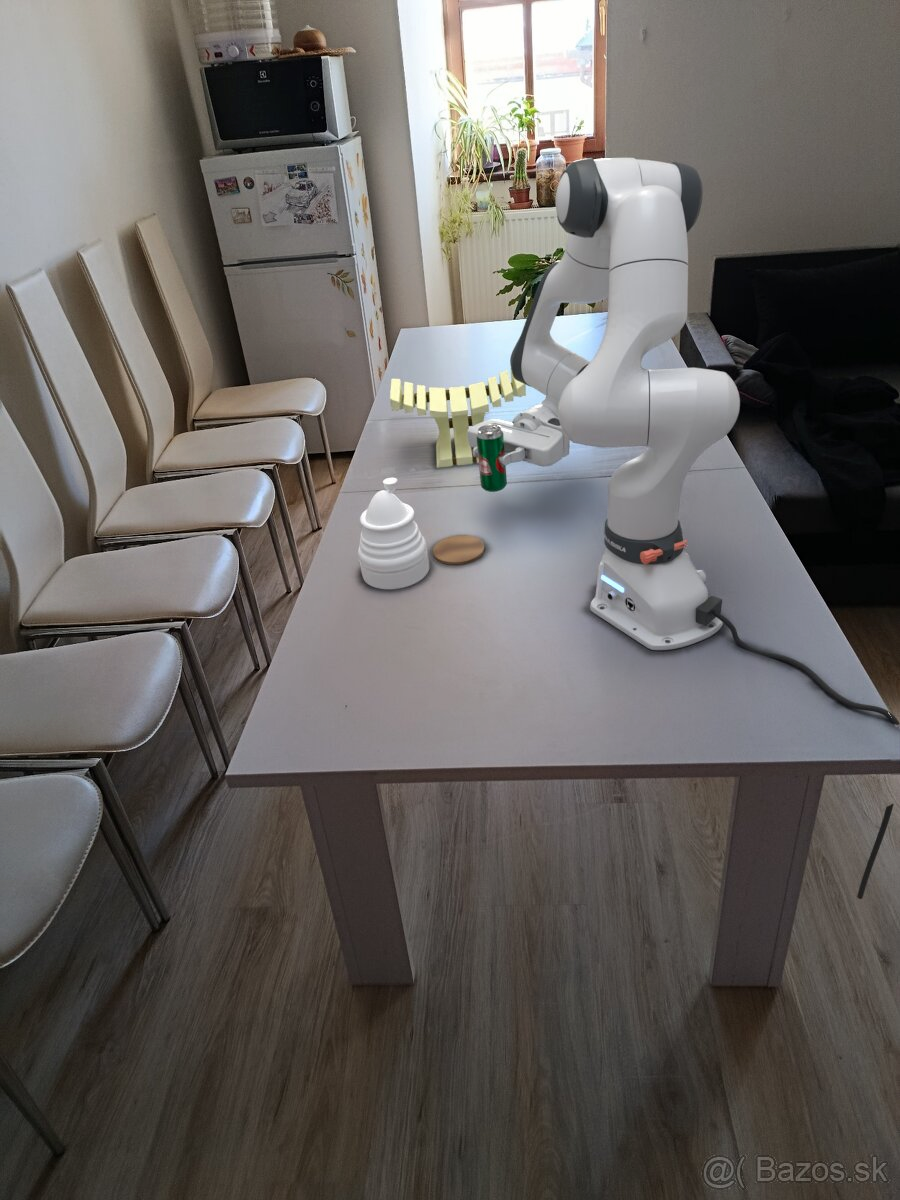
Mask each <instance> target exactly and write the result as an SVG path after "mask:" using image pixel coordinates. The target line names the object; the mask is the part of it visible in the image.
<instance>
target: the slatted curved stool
mask: <svg viewBox="0 0 900 1200" xmlns="http://www.w3.org/2000/svg"><path fill="white" fill-rule="evenodd" d="M498 377H499V379H498V380H499V383H498V380H497V376H496V375H494V376H491V377H488V378H487V384H485V381H480V382H475V383H472V384H471V383H470V384H468V386H467V387H466V386H465V385H461V386H451V387H448V389H446V387H433V386H432V387H429V389H428V391H427V389H426V385H421V384H416V392H415V388H414V382H410V381H403V383H404V384H403V386H402V381H401V378H391V381H390V393H389V394H390V395H389V402H390V408H391V412H392V411H395V412H397V411H400V410H403V411H404V414H411V413H414V408H416V411H417V417H420V416H426V415H427V411H428V404H429V415H430V419H434V420H435V422H436V425H437V428H438V437H437V440H436V443H435V454H436V456H435V457H436V468H437V469H439V468H448V467H453V466H454V465H456V466H458V467H459V466H467V465H473V464H474V463H476V464H479V460H478V458H477V457H474V456H473V450H472V447H471V446H469V443H468V434H467V433H468V429H469V428H470V427H472V426H474V425H476V424H479V423H481V422H484V421H485V420H484V419H485V417H486V416H485V415H486V413H490V407H489V406H490V405H489V404H491V405H492V408H500V407H502V399H504V402H505V403H509V402H510V403H511V402H514V397H518V398H522V397H527V388H526V387H527V385H526V384H524V383H521V382H519V381H517V380H516V379H515V378H514V376H513V374H512V370H511V369H510V375H509V372H508V369H506V370H504V371H501V372H499V373H498ZM488 398H489V399H488ZM467 399H469V406H470V415H469V407H468V401H467ZM448 401H449V403H450V414H451V417H449V410H448V409H449V408H448ZM451 429H453V440H454V448H455V449H454V450H455V455H453V450H452V437H451Z"/></svg>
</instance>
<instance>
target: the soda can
mask: <svg viewBox="0 0 900 1200" xmlns="http://www.w3.org/2000/svg"><path fill="white" fill-rule="evenodd" d="M476 438H477V449H478V460H479V463H478V467H479V468H478V471H479V480H480V481H479V482H480V487H481V488H482V490H484V491H485V492H489V493H495V492H500V491H503V490H504V489H505V488H506V486H507V485H508V481H507V480H508V479H507V478H508V477H507V465H506V466H505V465H502V464H499V459H498V457H499V455H501V454H503V453H505V449H504V435H503V432H502V430H501V427H500V426H498V425H484V426H482V427H480V428H479V429H478V433H477V435H476Z"/></svg>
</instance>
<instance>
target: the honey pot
mask: <svg viewBox="0 0 900 1200" xmlns="http://www.w3.org/2000/svg"><path fill="white" fill-rule="evenodd" d="M382 483H383V487H384V489H383V490H379V491H377V492H376V493H375V494H374V495H373V496H372V498H371V500H370V502H369V504H368V506H367V508H366V509H365V510H364V511H362V513H361V515H360V517H359V523H360V525H361V526H362V529H361V531H360V536H359V537H360V538H359V546H358V549H357V550H358V551H357V556H358V560H359V567H360V572H361V575H362V579H363V581H364V582H365V583H366V584H367V585H368V586H370V587H373V588H376V589H380V590H397V589H398V590H399V589H404V588H407V587H410V586H412V585H414V584H417V583H419V582H420V581H421V580H423V579H424V578H425V577H426V576H427V575H428V573H429V570H430V559H429V553H428V546H427V541H426V538H425V537H424V535H423V534H422V531H421V529H420V528H419V525H418V524H417V522H416V521H415V520H414V517H415V511H414V508H413V507H412V506H410V505H409V504H407V503H404V502H403V501H401V499H399V498H398V496H397V495H395V494H394V493H393V492H394V491H395V490H396V489H397V488H398V479H397V478H396V477H387V478H385V479H383V480H382Z"/></svg>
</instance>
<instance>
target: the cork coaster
mask: <svg viewBox="0 0 900 1200" xmlns="http://www.w3.org/2000/svg"><path fill="white" fill-rule="evenodd" d="M484 553H485V544H484V541H482V540H481V539H480V538H478V537H476V536H473V535H470V534H469V535H467V534H458V535H451V536H447V537H444V538H442V539H441V540H439V541H438V542H437V543H436V544H435V545H434V546H433V548H432V555H433V557H434V558H435V560H436V561H438V562H440V563H442V564H445V565H451V566H452V565H453V566H457V565H458V566H460V565H466V564H470V563H472V562H474V561H476V560H479V558H481V556H483V554H484Z"/></svg>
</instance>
